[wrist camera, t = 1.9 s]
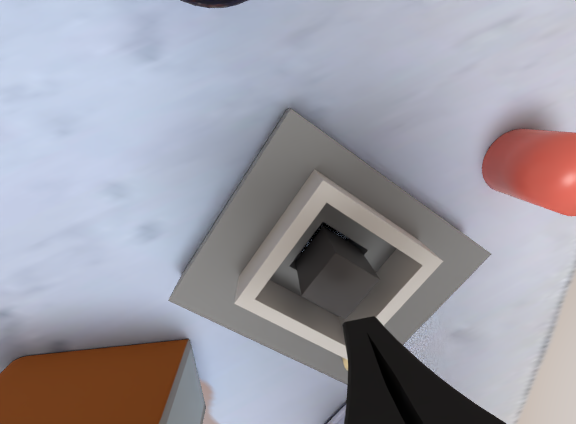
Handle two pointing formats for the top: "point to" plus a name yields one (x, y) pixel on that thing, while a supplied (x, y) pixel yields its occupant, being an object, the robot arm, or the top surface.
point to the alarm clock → (105, 386)
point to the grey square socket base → (296, 233)
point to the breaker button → (334, 273)
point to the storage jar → (214, 3)
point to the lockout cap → (534, 168)
